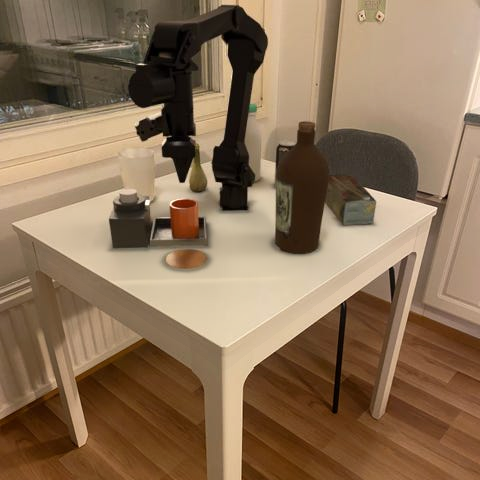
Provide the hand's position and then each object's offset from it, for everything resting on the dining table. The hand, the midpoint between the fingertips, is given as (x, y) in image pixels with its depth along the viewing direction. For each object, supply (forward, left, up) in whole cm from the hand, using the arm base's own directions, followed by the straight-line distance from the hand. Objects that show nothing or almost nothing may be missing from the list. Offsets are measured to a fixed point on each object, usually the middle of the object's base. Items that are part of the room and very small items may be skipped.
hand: (182, 180), depth 101 cm
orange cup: (0, 0, -12) cm, 12 cm away
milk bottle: (-17, -38, -13) cm, 44 cm away
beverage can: (-27, -31, -13) cm, 43 cm away
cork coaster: (-1, +12, -12) cm, 17 cm away
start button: (+11, 0, -4) cm, 12 cm away
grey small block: (+8, 0, -7) cm, 10 cm away
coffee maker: (+11, 0, -12) cm, 17 cm away
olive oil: (-24, +6, -13) cm, 28 cm away
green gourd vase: (-3, -29, -13) cm, 32 cm away
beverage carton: (-40, -13, -13) cm, 44 cm away
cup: (+12, -22, -13) cm, 28 cm away
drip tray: (+1, 0, -12) cm, 13 cm away
